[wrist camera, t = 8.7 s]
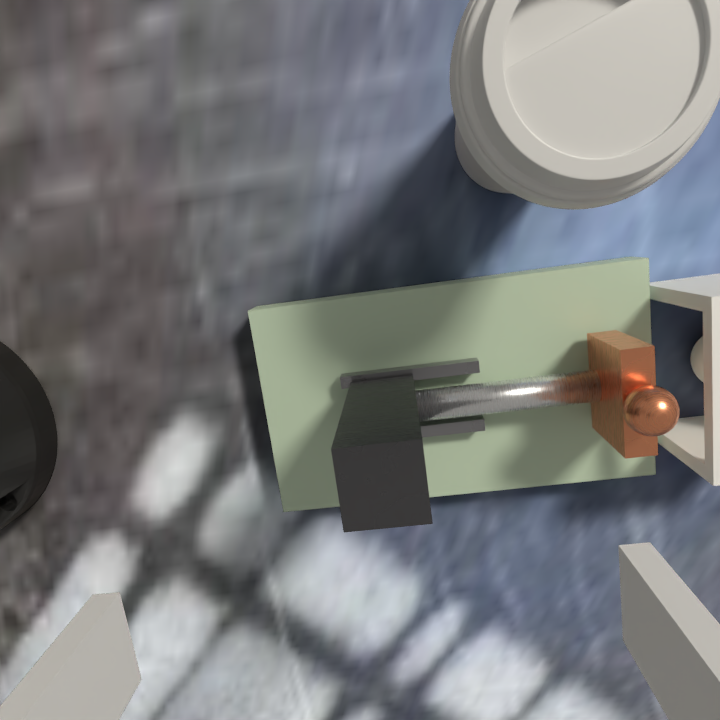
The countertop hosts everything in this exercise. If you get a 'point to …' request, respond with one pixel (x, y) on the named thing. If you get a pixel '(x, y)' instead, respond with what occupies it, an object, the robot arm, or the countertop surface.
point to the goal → (716, 427)
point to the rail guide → (429, 372)
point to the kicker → (410, 407)
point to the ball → (698, 359)
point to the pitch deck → (445, 343)
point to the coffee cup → (581, 94)
